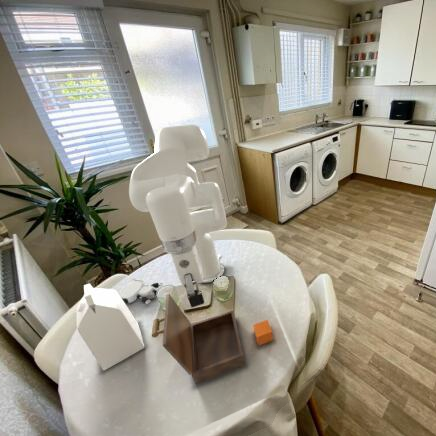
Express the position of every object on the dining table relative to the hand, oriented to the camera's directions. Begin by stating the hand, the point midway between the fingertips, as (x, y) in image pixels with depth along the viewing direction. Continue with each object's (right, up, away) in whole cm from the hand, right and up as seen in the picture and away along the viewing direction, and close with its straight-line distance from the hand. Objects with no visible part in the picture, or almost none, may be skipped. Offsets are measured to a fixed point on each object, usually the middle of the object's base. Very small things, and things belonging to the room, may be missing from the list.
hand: (196, 291), depth 64 cm
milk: (-32, -24, +17) cm, 43 cm away
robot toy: (-37, -13, +36) cm, 53 cm away
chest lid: (-7, -13, +5) cm, 16 cm away
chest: (+1, -23, +14) cm, 27 cm away
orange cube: (+16, -21, +17) cm, 32 cm away
